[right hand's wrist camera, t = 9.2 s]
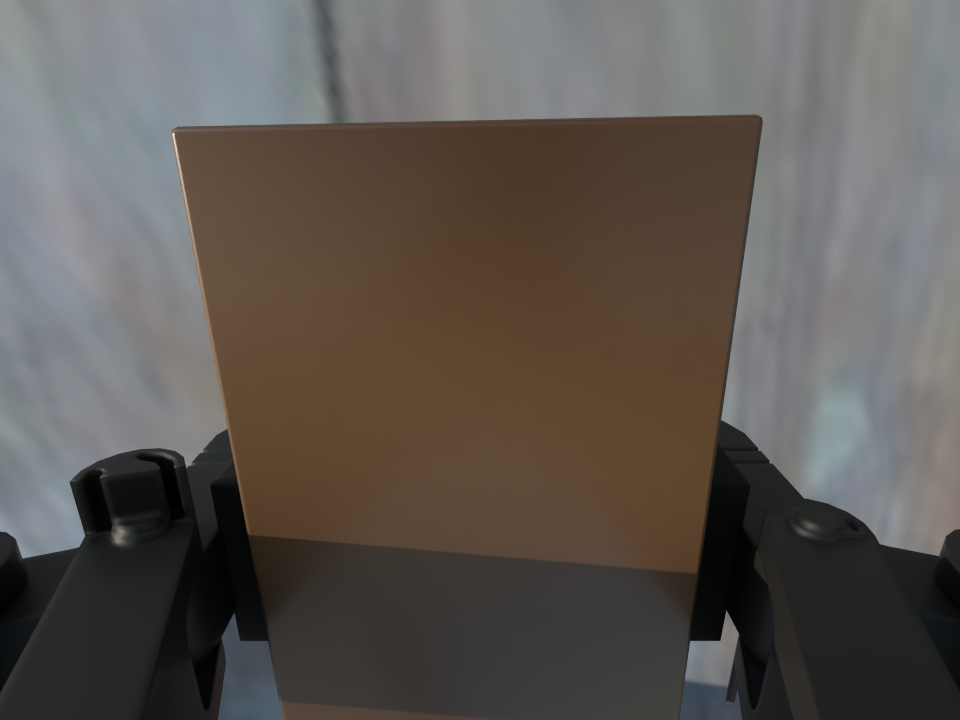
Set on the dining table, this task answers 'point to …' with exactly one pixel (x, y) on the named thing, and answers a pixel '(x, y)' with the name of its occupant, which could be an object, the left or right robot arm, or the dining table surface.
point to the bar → (474, 400)
